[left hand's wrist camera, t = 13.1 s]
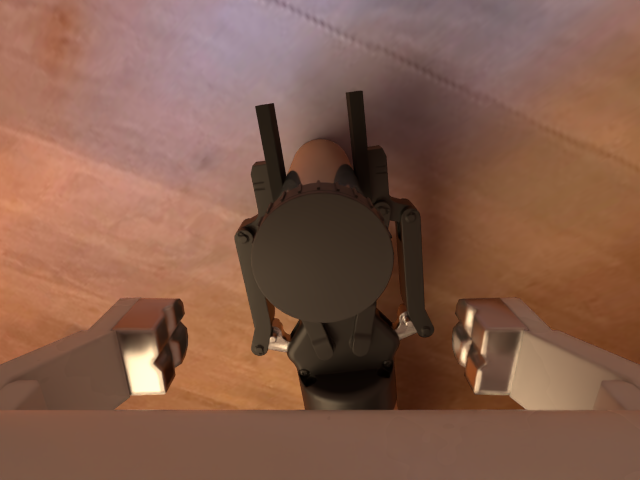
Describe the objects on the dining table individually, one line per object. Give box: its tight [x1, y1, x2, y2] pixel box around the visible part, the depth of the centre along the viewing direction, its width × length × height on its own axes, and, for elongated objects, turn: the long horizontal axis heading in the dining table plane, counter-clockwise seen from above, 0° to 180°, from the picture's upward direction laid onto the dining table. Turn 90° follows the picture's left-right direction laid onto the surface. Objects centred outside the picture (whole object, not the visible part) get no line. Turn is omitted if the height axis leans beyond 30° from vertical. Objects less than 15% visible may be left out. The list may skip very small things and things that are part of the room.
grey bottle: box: [278, 139, 365, 198], centre depth 22 cm, size 5×5×17 cm
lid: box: [251, 180, 394, 323], centre depth 14 cm, size 5×5×2 cm
